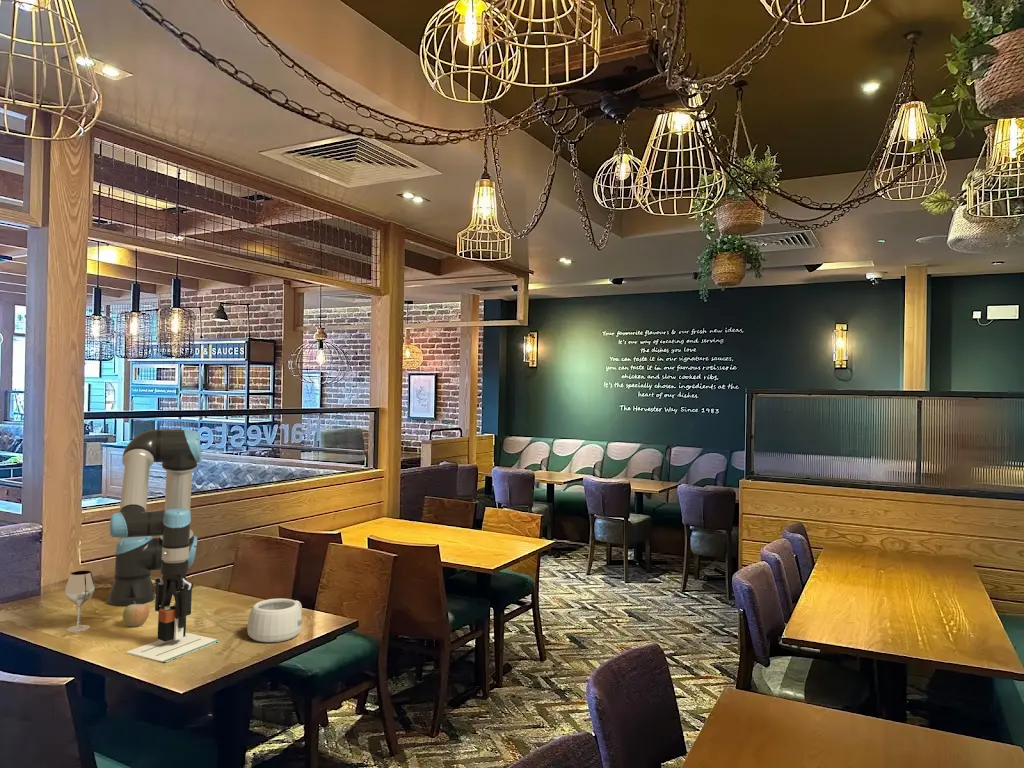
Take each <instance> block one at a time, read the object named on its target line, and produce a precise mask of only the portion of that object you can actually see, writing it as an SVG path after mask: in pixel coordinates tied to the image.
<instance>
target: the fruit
mask: <svg viewBox="0 0 1024 768" xmlns="http://www.w3.org/2000/svg"><path fill="white" fill-rule="evenodd" d="M134 603H135V601H134ZM149 615H150V609H149V607H148V605H146V604H145V603H143V604H136V603H135V604H132V605H129V606H125V608H124V609H123V612H122V621H123V622H124V624H125V625H126V626H128V627H140V626H142V625H144V623H146V621H147V619H148V617H149Z"/></svg>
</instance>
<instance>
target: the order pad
mask: <svg viewBox="0 0 1024 768" xmlns="http://www.w3.org/2000/svg"><path fill="white" fill-rule="evenodd" d="M219 641H220V642H221V639H216V638H212V637H207V636H202V635H199V634H194V633H189V632H186V634H185V636H184V637H183V638H180V639H177V640H174V639H173V640H170V641H166V642H164V641H162V640H159V639H158V640H156V641H153V642H150V643H147V644H144V645H141V646H139V647H136V648H133V649H130V650H128V651H125V654H127V655H130V656H135V657H137V658H138V657H139V658H142V657H143V659H146V658H148V659H147V660H150V659H152V660H151V661H154V660H156V661H155V662H158V661H161V662H160V663H162V662H167V663H169V662H168V661H170V660H172V661H174V660H173V659H175V658H177V659H179V658H178V657H180V658H182V657H184V656H183V655H185V656H187V655H189V653H190V654H192V653H195V652H197V651H200V650H202V649H205V648H207V647H210V646H213V645H214V643H215V644H217V643H216V642H218V643H219ZM212 644H213V645H212ZM209 645H210V646H209ZM204 647H205V648H204ZM199 649H200V650H199ZM196 650H197V651H196ZM194 651H195V652H194ZM191 652H192V653H191ZM186 654H187V655H186ZM181 656H182V657H181ZM175 660H176V659H175ZM170 662H171V661H170Z"/></svg>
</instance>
